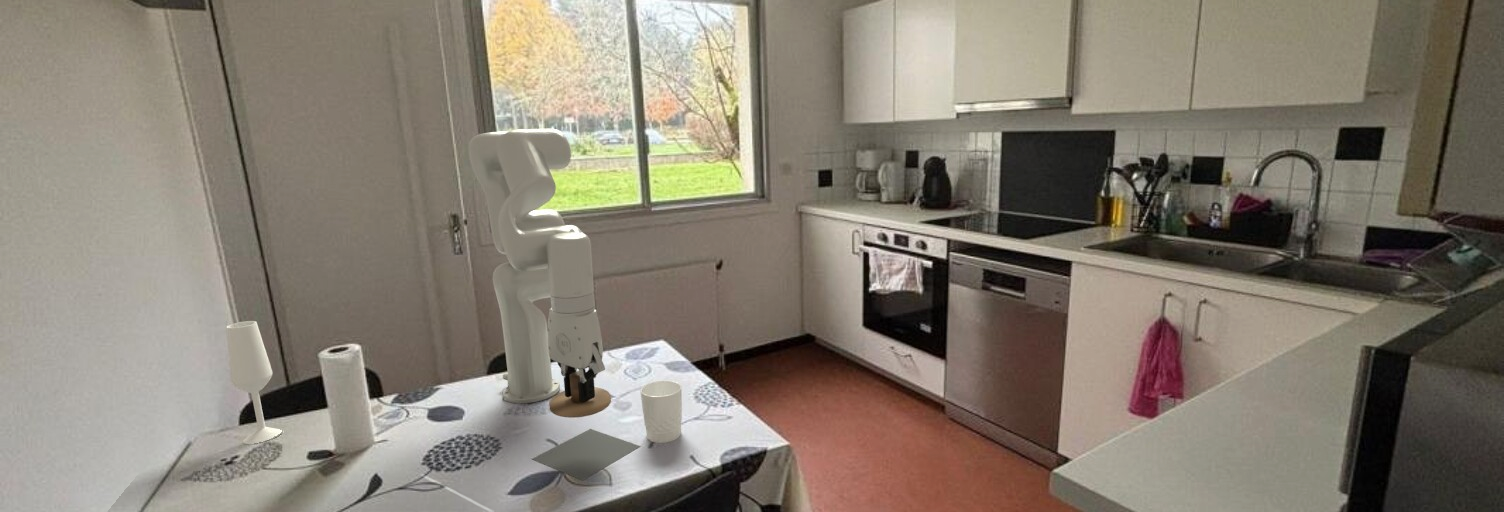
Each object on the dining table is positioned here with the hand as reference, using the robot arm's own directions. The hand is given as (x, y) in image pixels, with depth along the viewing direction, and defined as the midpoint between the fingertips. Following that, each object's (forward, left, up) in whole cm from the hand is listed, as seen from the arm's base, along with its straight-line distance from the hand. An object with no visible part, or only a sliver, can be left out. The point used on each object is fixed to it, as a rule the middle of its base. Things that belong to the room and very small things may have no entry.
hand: (580, 396), depth 117 cm
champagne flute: (-63, -30, -11) cm, 71 cm away
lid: (0, 0, -1) cm, 1 cm away
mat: (+1, 0, -11) cm, 11 cm away
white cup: (+8, +13, -12) cm, 19 cm away
